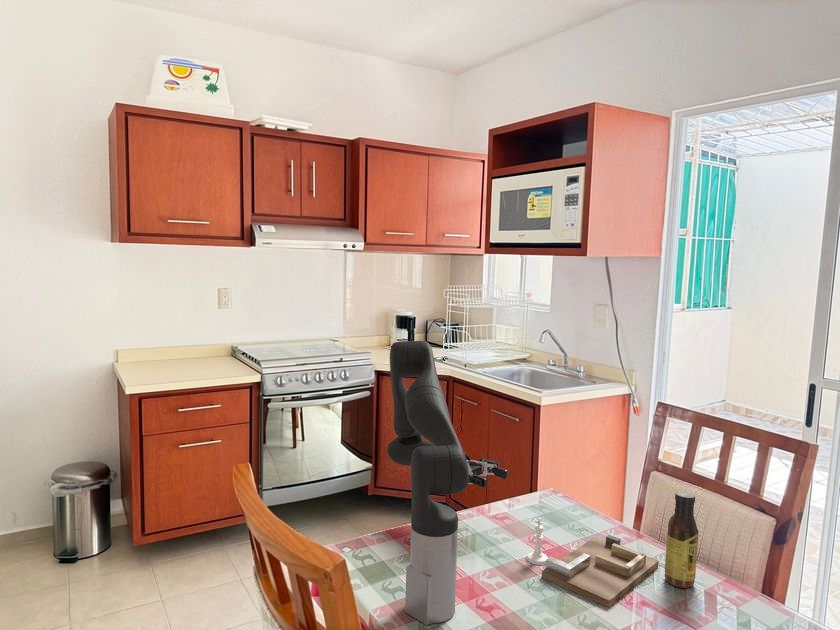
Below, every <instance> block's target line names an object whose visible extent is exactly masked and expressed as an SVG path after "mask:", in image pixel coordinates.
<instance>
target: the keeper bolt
mask: <svg viewBox="0 0 840 630" xmlns="http://www.w3.org/2000/svg"><path fill="white" fill-rule="evenodd" d="M590 559H591V556H590V555H588V554H585V553H584V554H582V555H581V556H579V557H578V558H576V559H575V560H573V561H572V562H570V563H566V562H563V561H561V560H560V559H558V558H556V557H553V556H549V557H548V558H547V559H546V564H545V568H547V569H549V570H552V571H554V572H556V573H558V574H561V575H563V576H565V577H568V578H571V577H572V576H574V575H575V574H577V573H578V572H580V571H581V570H582V569H584V568H585V567H587V566H588V565H590Z"/></svg>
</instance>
